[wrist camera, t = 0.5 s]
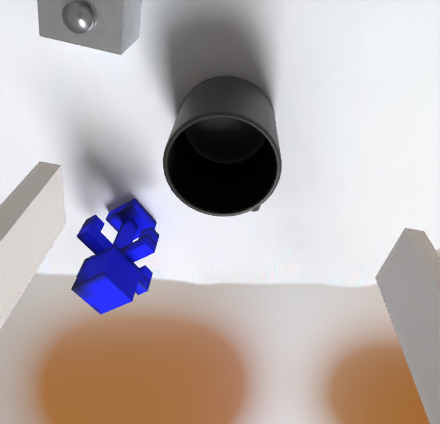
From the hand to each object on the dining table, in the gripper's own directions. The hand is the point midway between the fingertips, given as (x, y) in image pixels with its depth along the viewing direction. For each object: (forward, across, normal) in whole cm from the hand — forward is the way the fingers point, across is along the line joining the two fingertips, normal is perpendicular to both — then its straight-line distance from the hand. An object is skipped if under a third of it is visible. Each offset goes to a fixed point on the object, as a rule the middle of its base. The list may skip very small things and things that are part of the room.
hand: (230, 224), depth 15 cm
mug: (+24, +1, -7) cm, 25 cm away
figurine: (+24, -9, -20) cm, 32 cm away
